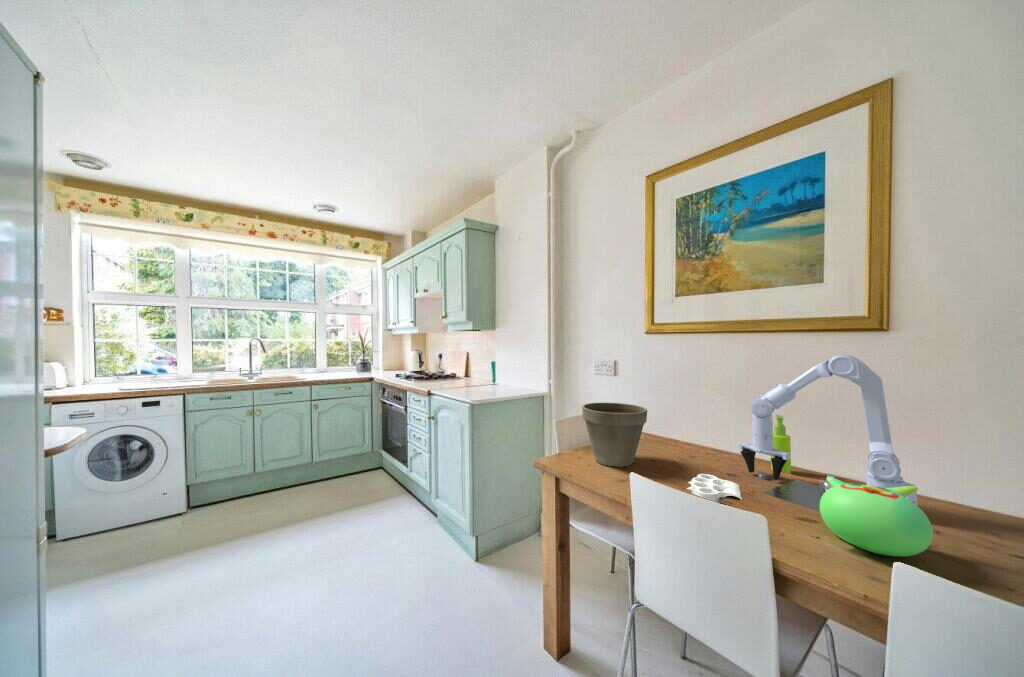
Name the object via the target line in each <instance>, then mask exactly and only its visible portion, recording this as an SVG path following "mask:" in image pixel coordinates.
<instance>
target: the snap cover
mask: <svg viewBox="0 0 1024 677" xmlns="http://www.w3.org/2000/svg"><path fill="white" fill-rule="evenodd" d="M757 476H758V479H760V480H764V481H768V480H769V474H768V473H765V472H758V474H757Z"/></svg>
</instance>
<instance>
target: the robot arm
mask: <svg viewBox="0 0 1024 677" xmlns="http://www.w3.org/2000/svg"><path fill="white" fill-rule="evenodd" d="M833 375H834V376H837V377H840V378H843V379H846V380H849V381H851V383H854V384H855V385H858V386H859V387H860V389H861V395H862V396H861V397H862V404H863V408H864V411H863V412H864V417H865V421H866V429H867V430H866V431H867V436H868V442H869V451H870V453H869V455H868V457H867V460H868V462H867V469H868V471H866V472H865V478H866V479H865V483H866V484H865V485H870V486H875V487H881V488H884V489H886V488H894V487H903V486H915V487H917V486H916V485H915V484H914V483H910V482H907V481H904V478H903V477H902V476H901V475H902V474H901V472H902V469H901V466H900V465H901V464H900V463H901V462H900V460H899V458H898V456H897V455H896V454H895V453H894V450H893V443H892V437H891V430H890V425H889V418H888V417H889V416H888V412H887V404H886V400H885V399H886V398H885V392H884V391H885V390H884V386H883V380H882V377H880V375H878V374H877V373H876V372H875V371H874V370H873V369H871V367H869V366H868V365H867V364H866V363H864V362H863V361H862V360H861V359H859V358H857V357H855V356H852V355H850V354H846V353H842V354H838V355H834V356H833V357H831V358H829V359H827V360H825V361H822V362H820V363H818V364H816V365H814V366H813V367H811V368H810V369H808V370H806V371H805V372H804V373H802V374H800V376H798V377H797V378H795V379H793V380H792V381H790V382H789V383H788V384H787V383H786V384H785V383H779V384H774V385H773V386H772V389H770V390H769V391H767V392H765V393H764V394H763V393H762V394H760V395H759V397H760V398H756V399H754V400H753V401H752V402H751V404H750V406H749V409H750V412H751V413H752V420H751V422H752V423H751V424H752V425H751V426H752V427H751V428H752V430H751V431H752V432H751V433H752V443H749V442H748V443H747V442H739V443H738V447H739V450H740V449H741V450H740V454H741V456H742V457H743V459H744V461H745V464H746V466H747V470H748V473H754V472H755V459H756V458H755V457H756V453H759V454H763V455H766V456H770V463H771V462H772V466H773V469H772V477H773V478H772V479H773V480H774V481H777V480H780V477H781V473H782V472H781V470H782V468H783V466H784V465H785V463H786V462H787V460H788V459H789V453H787V452H783V451H780V450H777V449H774V448H773V433H774V422H773V413H774V411H775V410H779V409H780V408H782V407H783V406H785V405H787V404H788V403H790V402H791V401H794V400H795V399H796V398H797V397H796V394H797V392H798V391H800V390H801V389H803V388H805V387H806V386H808V385H810V384H812V383H813V382H815V381H818V379H822V378H830V377H832V376H833ZM771 456H774V457H775V458H771ZM905 498H906V499H908V500H910V501H911V502H913V503H914V504H915V505H917V506H918V490H917V491H916V492H914V493H912V494H911V495H909V496H907V497H905Z"/></svg>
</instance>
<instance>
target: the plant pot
mask: <svg viewBox="0 0 1024 677" xmlns="http://www.w3.org/2000/svg"><path fill="white" fill-rule="evenodd" d="M581 406H582V407H581V408H582V409H581V410H582V419H583V420H584V421H585V425H586V430H587V433H588V434H587V435H588V437H589V441H590V446H591V449H592V454H593V457H594V460H595V461H596V462H597V463H598V464H600V465H603V466H606V465H607V467H612V466H615V468H624V466H625V467H629V466H631V465H632V464H633V463H634V460H635V456H636V453H637V450H638V447H639V443H640V440H641V436H642V433H643V430H644V429H643V428H644V426H645V424H646V423H647V419H648V408H645V407H644V406H640V405H635V404H630V403H622V402H621V403H620V402H619V403H618V402H591V403H585V404H583V405H581Z"/></svg>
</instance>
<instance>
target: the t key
mask: <svg viewBox="0 0 1024 677" xmlns="http://www.w3.org/2000/svg"><path fill="white" fill-rule="evenodd" d="M827 477H833V478H835V477H836V476H835V475H834V474H831V473H827V474H826V479H825V480H822V479H819V480H818V486H819V488H822V489H824V492H826V491H827V490H828V489H830V488H832V486H831V484H830V483H829V482H828V480H827Z"/></svg>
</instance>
